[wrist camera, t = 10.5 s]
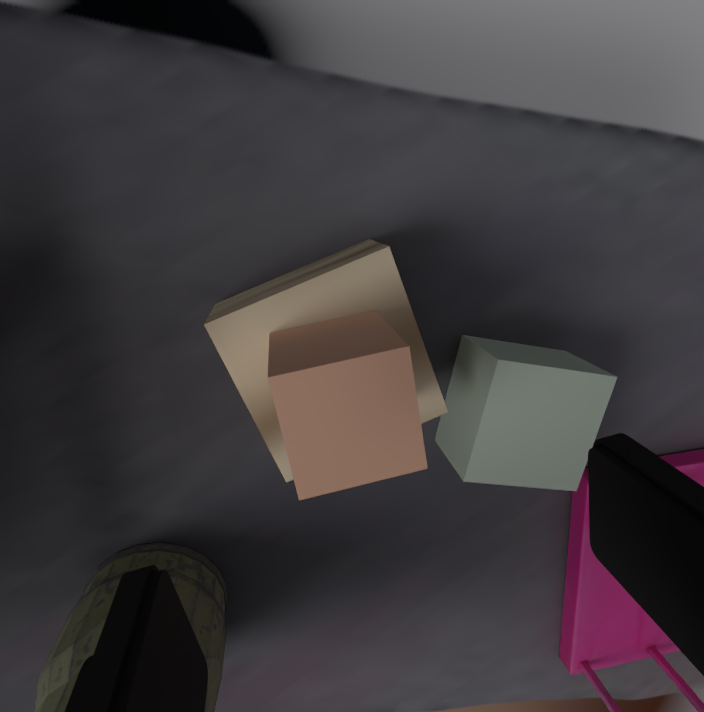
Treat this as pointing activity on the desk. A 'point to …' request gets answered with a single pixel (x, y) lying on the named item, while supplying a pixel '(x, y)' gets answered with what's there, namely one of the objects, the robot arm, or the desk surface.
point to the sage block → (522, 414)
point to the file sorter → (611, 603)
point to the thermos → (85, 623)
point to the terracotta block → (345, 403)
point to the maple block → (308, 306)
